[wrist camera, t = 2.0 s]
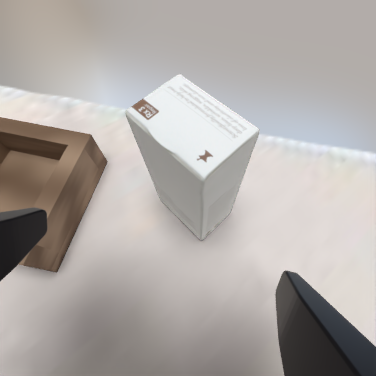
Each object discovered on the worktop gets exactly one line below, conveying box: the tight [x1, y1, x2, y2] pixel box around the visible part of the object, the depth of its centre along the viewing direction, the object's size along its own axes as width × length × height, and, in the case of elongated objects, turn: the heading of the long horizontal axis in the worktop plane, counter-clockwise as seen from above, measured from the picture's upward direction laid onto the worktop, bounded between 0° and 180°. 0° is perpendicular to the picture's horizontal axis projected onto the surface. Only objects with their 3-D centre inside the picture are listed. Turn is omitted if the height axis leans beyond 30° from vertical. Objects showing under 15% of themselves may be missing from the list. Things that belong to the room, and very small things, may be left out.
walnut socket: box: [0, 117, 107, 272], centre depth 21 cm, size 12×12×4 cm
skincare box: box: [125, 74, 260, 241], centre depth 17 cm, size 6×4×12 cm
